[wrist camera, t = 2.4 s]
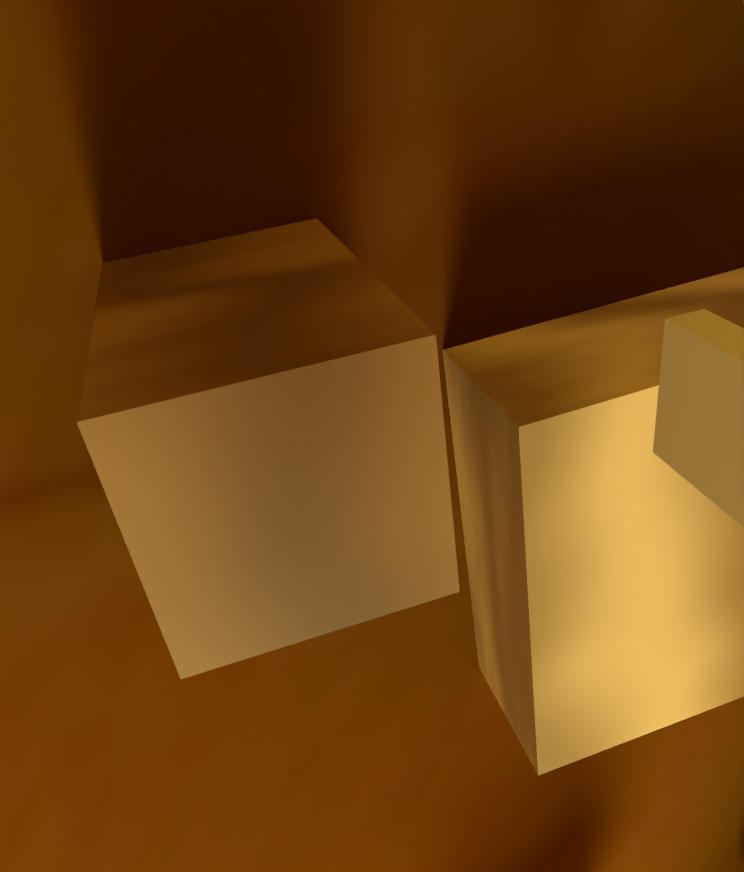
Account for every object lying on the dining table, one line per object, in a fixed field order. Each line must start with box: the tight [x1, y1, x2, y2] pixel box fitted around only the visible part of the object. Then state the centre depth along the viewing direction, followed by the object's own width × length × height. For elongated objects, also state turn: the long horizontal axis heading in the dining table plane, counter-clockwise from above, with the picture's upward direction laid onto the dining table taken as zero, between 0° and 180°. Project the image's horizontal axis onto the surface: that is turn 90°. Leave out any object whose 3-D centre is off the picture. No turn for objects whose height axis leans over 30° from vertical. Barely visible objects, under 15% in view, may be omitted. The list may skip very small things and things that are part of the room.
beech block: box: [443, 267, 744, 776], centre depth 22 cm, size 13×13×5 cm
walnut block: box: [77, 218, 460, 679], centre depth 14 cm, size 5×5×8 cm
